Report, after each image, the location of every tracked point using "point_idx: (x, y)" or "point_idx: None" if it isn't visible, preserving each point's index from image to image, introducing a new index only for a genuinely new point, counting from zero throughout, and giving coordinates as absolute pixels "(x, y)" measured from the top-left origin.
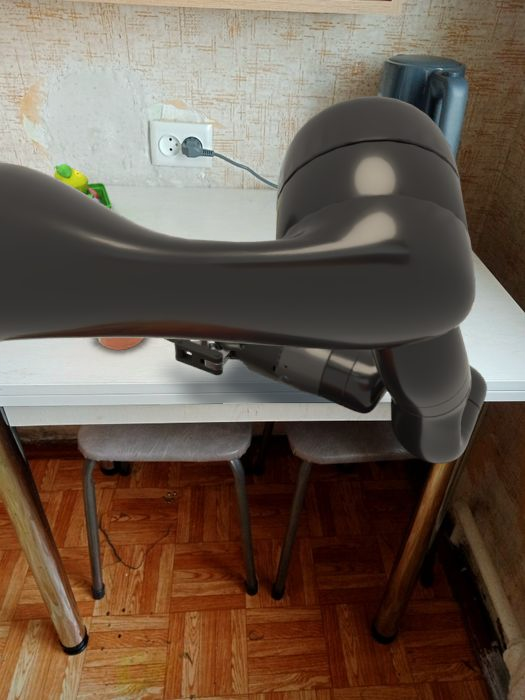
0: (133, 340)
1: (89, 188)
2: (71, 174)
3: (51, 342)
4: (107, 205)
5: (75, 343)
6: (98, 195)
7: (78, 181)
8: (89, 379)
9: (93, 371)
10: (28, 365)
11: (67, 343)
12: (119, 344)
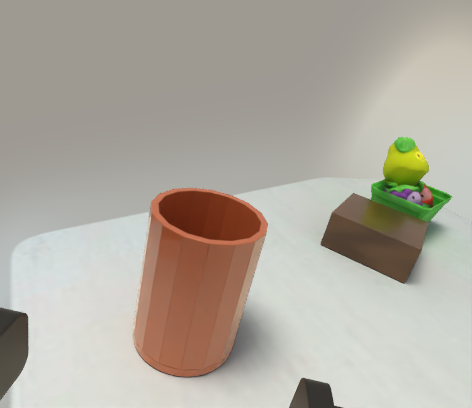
0: (158, 356)
1: (426, 188)
2: (408, 151)
3: (125, 256)
4: (423, 206)
5: (132, 281)
6: (432, 203)
7: (410, 162)
8: None
9: (50, 330)
10: (58, 249)
11: (129, 272)
12: (137, 336)
